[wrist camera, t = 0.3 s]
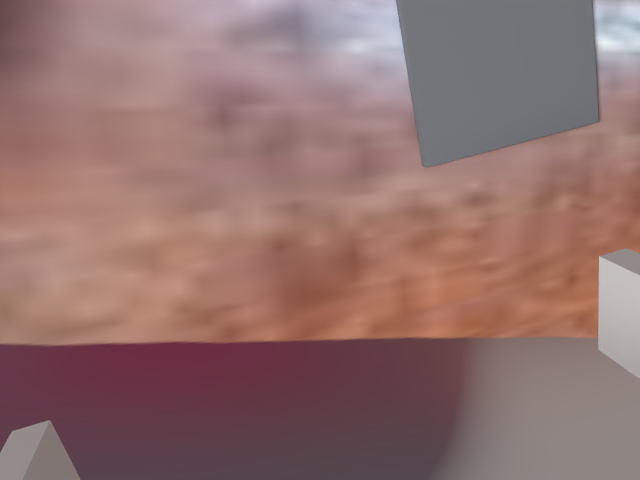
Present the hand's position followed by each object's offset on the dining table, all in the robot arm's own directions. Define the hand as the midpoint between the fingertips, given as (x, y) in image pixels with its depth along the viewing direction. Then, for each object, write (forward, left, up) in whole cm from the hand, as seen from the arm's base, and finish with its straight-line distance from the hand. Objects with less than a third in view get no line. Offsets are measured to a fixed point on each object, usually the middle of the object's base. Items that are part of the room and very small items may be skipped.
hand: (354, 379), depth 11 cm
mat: (-7, +22, -27) cm, 36 cm away
